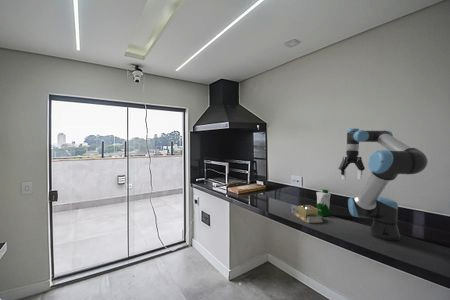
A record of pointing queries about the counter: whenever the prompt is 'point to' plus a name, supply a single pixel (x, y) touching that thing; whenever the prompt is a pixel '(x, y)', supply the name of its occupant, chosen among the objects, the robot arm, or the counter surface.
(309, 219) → the grey metal piece
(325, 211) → the milk carton
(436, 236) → the counter surface
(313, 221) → the bench plate
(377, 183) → the robot arm
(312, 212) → the gold square frame
